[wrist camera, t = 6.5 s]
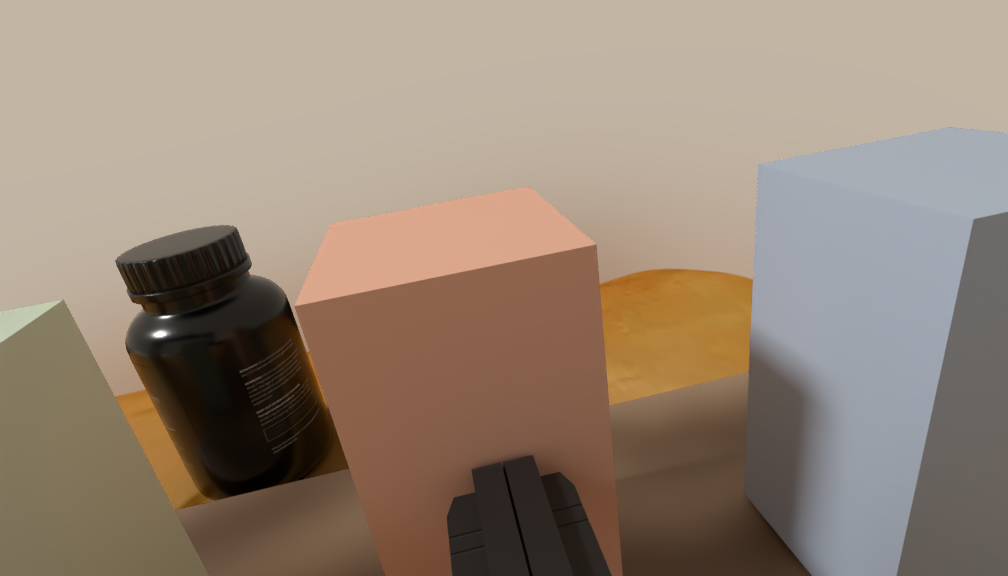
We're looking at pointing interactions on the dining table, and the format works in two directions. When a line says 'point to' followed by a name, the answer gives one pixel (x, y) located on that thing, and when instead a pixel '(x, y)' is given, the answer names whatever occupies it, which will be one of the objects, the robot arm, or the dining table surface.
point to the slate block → (883, 356)
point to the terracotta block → (461, 362)
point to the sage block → (75, 464)
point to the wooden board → (639, 490)
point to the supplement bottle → (223, 363)
